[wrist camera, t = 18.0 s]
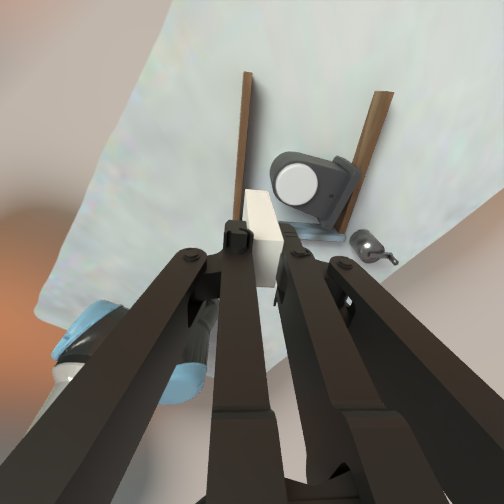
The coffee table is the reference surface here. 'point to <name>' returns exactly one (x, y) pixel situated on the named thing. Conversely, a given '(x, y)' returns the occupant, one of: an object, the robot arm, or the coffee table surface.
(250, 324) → the robot arm
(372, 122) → the bay
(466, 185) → the coffee table surface
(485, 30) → the coffee table surface
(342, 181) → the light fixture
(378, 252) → the winch drum
